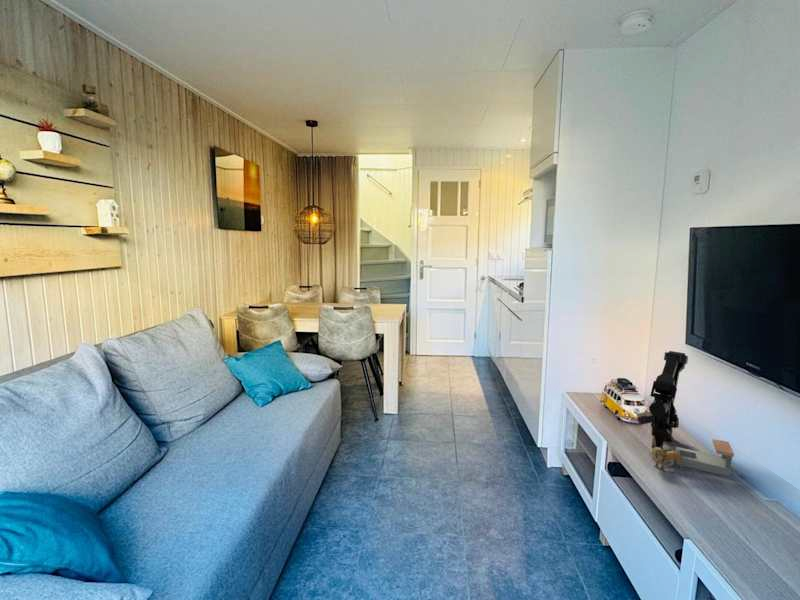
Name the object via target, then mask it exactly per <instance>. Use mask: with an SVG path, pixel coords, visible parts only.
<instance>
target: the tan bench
mask: <svg viewBox="0 0 800 600" xmlns="http://www.w3.org/2000/svg"><path fill="white" fill-rule="evenodd" d="M712 444H713V447H714V449H715V452H716V454H718V455H720V456H721V457H722V458H723V459H726V463H725V467H726V468H731V467H732V460H733V458H734V457H735V453H734V451H733V448H732V446H731V445H730V444H731V443H729V441H725V440H721V439H715V438H712ZM731 469H732V468H731Z"/></svg>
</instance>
